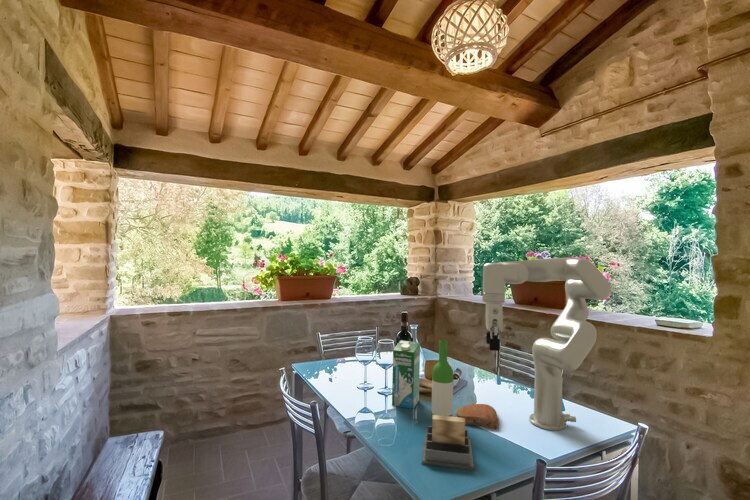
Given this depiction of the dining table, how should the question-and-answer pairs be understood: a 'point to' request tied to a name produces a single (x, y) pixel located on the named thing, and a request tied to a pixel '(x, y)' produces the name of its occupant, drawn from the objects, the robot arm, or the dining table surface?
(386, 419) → the dining table surface
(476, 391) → the dining table surface
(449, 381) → the wine bottle
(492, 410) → the ceramic shard
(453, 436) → the oak board
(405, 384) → the milk carton
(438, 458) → the rack
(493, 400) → the dining table surface
